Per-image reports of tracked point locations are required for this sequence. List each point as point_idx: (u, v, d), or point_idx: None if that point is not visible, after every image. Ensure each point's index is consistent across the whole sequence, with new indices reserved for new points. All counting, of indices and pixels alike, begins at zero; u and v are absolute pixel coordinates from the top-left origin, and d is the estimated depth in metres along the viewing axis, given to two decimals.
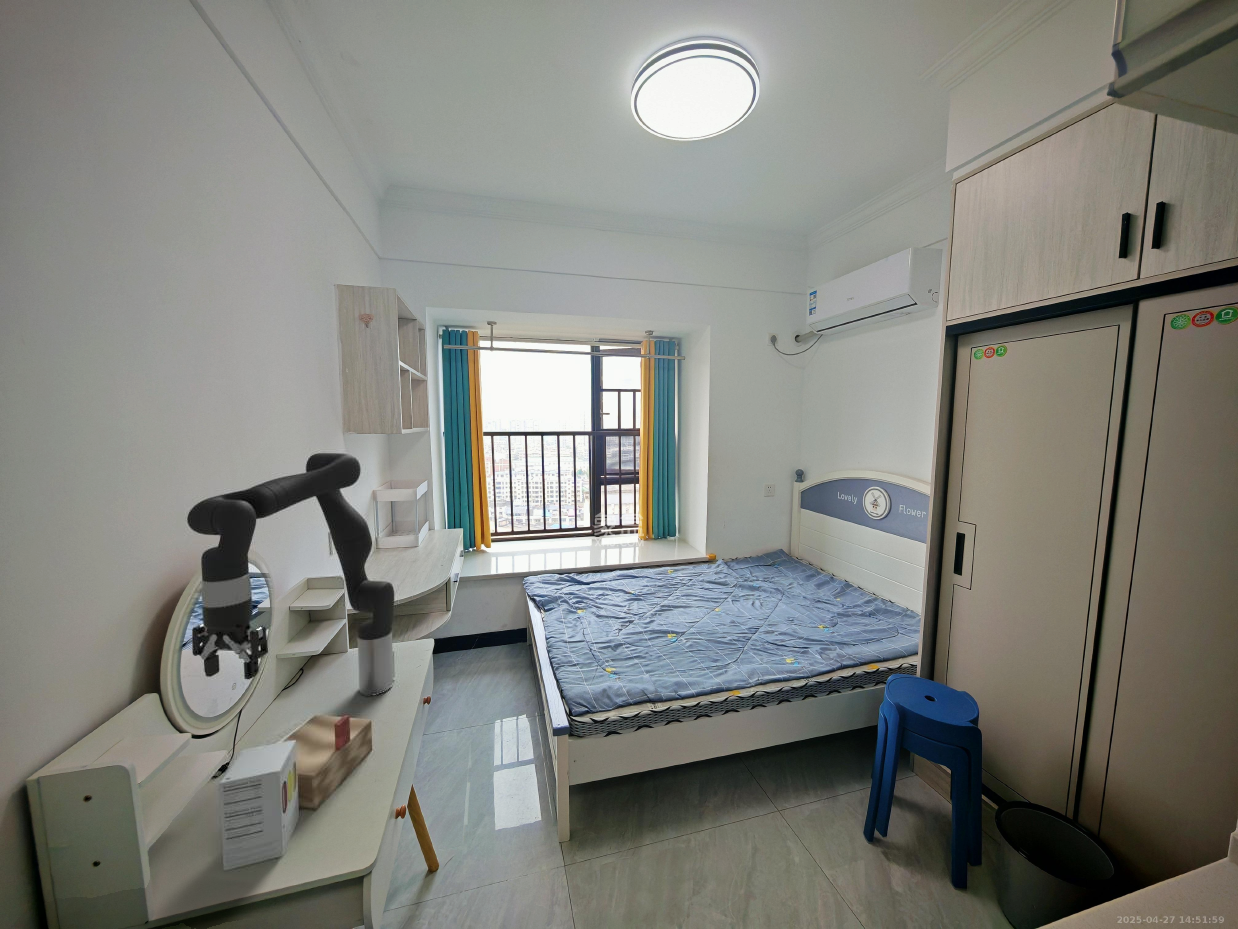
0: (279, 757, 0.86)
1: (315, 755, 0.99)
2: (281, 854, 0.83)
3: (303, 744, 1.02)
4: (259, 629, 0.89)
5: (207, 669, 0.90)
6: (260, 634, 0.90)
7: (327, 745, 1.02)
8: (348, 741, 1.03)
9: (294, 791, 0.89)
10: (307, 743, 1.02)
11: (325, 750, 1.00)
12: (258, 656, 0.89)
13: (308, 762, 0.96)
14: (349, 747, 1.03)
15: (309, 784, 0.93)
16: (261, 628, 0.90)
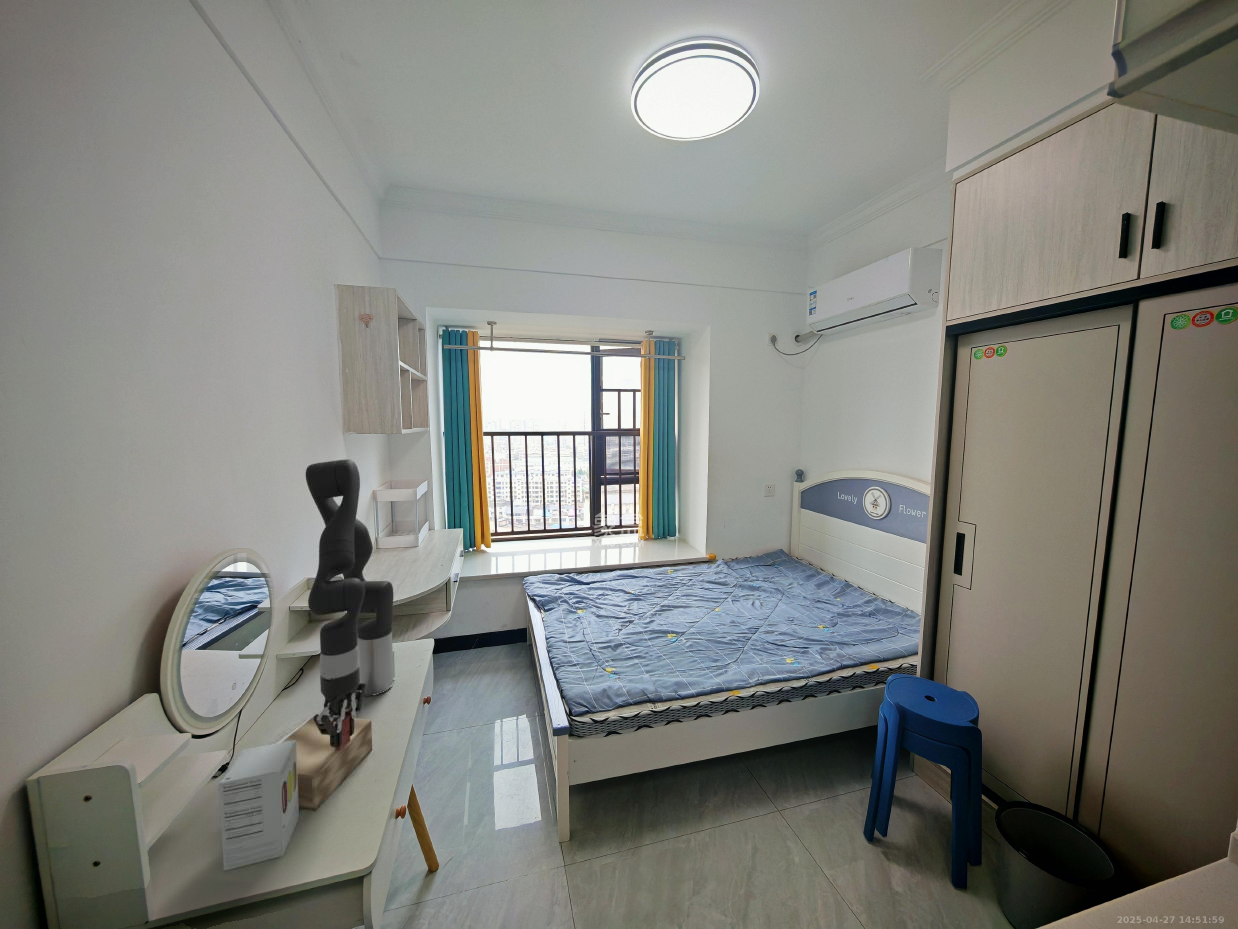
0: (279, 757, 0.86)
1: (315, 755, 0.99)
2: (281, 854, 0.83)
3: (303, 744, 1.02)
4: None
5: (341, 739, 1.00)
6: None
7: (327, 745, 1.02)
8: (348, 741, 1.03)
9: (294, 791, 0.89)
10: (307, 743, 1.02)
11: (325, 750, 1.00)
12: None
13: (308, 762, 0.96)
14: (349, 747, 1.03)
15: (309, 784, 0.93)
16: None
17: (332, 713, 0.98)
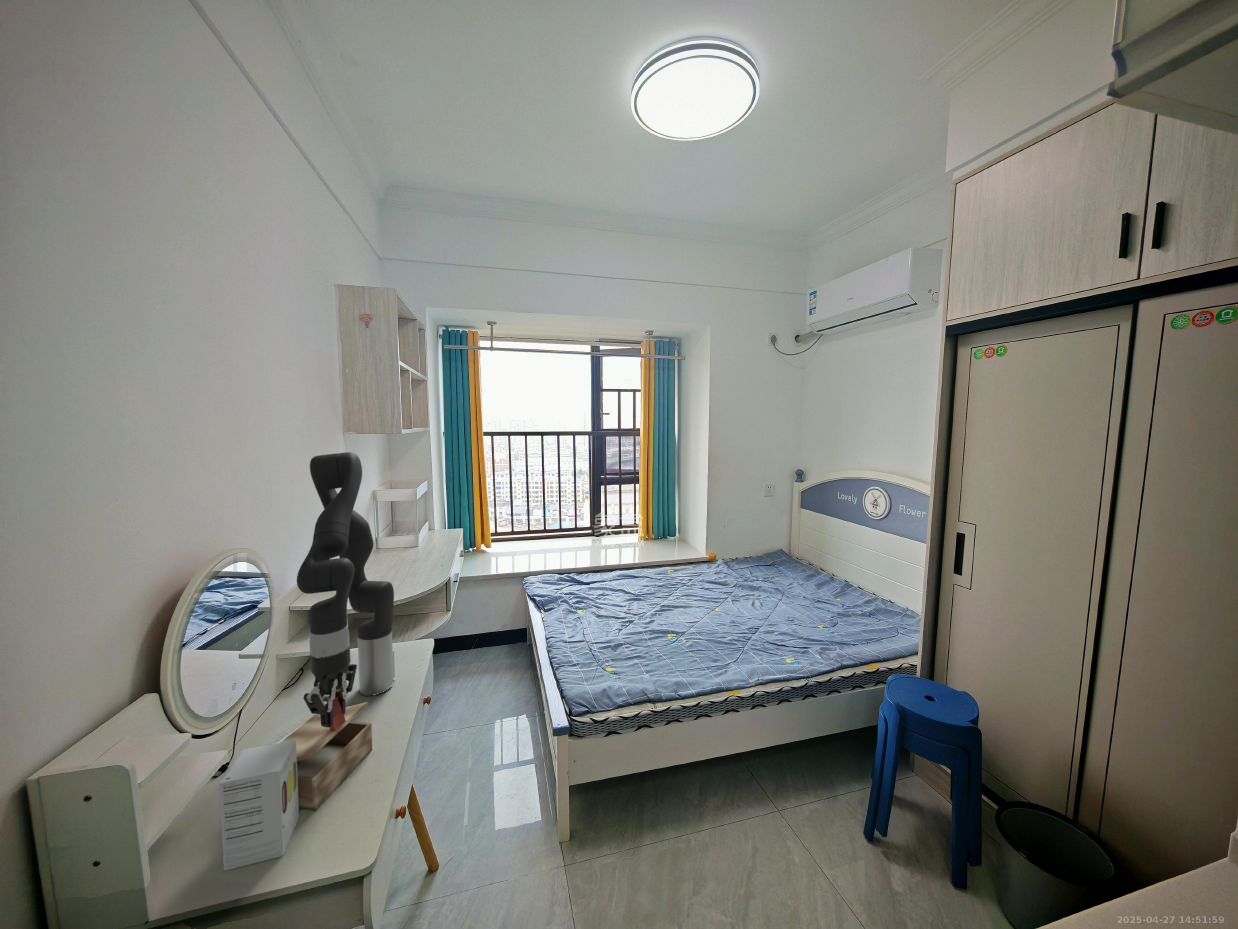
0: (279, 757, 0.86)
1: (311, 740, 0.98)
2: (281, 854, 0.83)
3: (301, 737, 1.02)
4: None
5: (332, 718, 1.00)
6: None
7: (323, 731, 1.01)
8: (344, 722, 1.03)
9: (294, 791, 0.89)
10: (304, 735, 1.02)
11: (321, 735, 1.00)
12: None
13: (304, 747, 0.96)
14: (349, 747, 1.03)
15: (309, 784, 0.93)
16: None
17: (322, 692, 0.98)
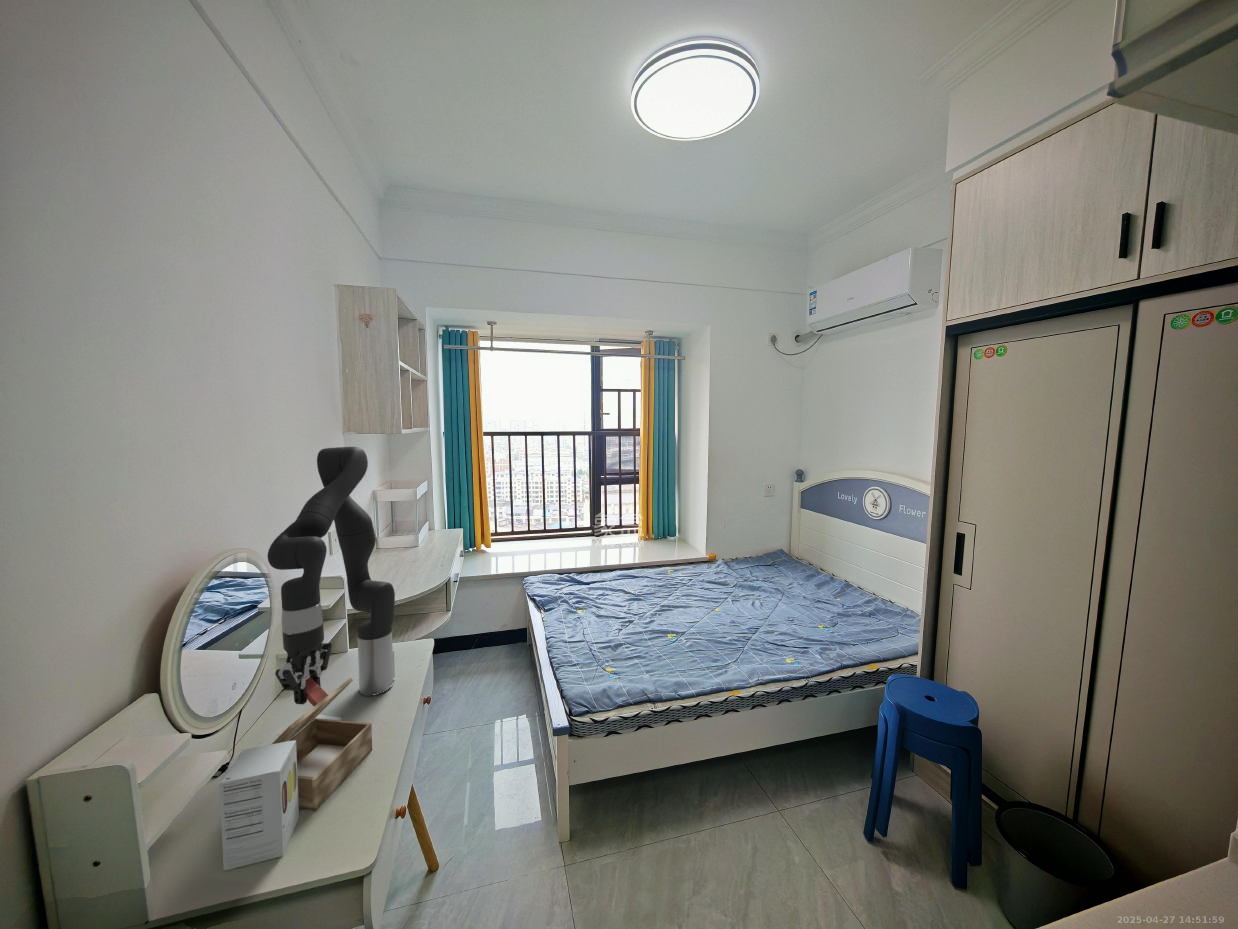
0: (279, 757, 0.86)
1: None
2: (281, 854, 0.83)
3: None
4: None
5: (305, 695, 1.00)
6: None
7: None
8: (327, 696, 1.03)
9: (294, 791, 0.89)
10: None
11: None
12: None
13: None
14: (349, 747, 1.03)
15: (309, 784, 0.93)
16: None
17: (295, 669, 0.98)
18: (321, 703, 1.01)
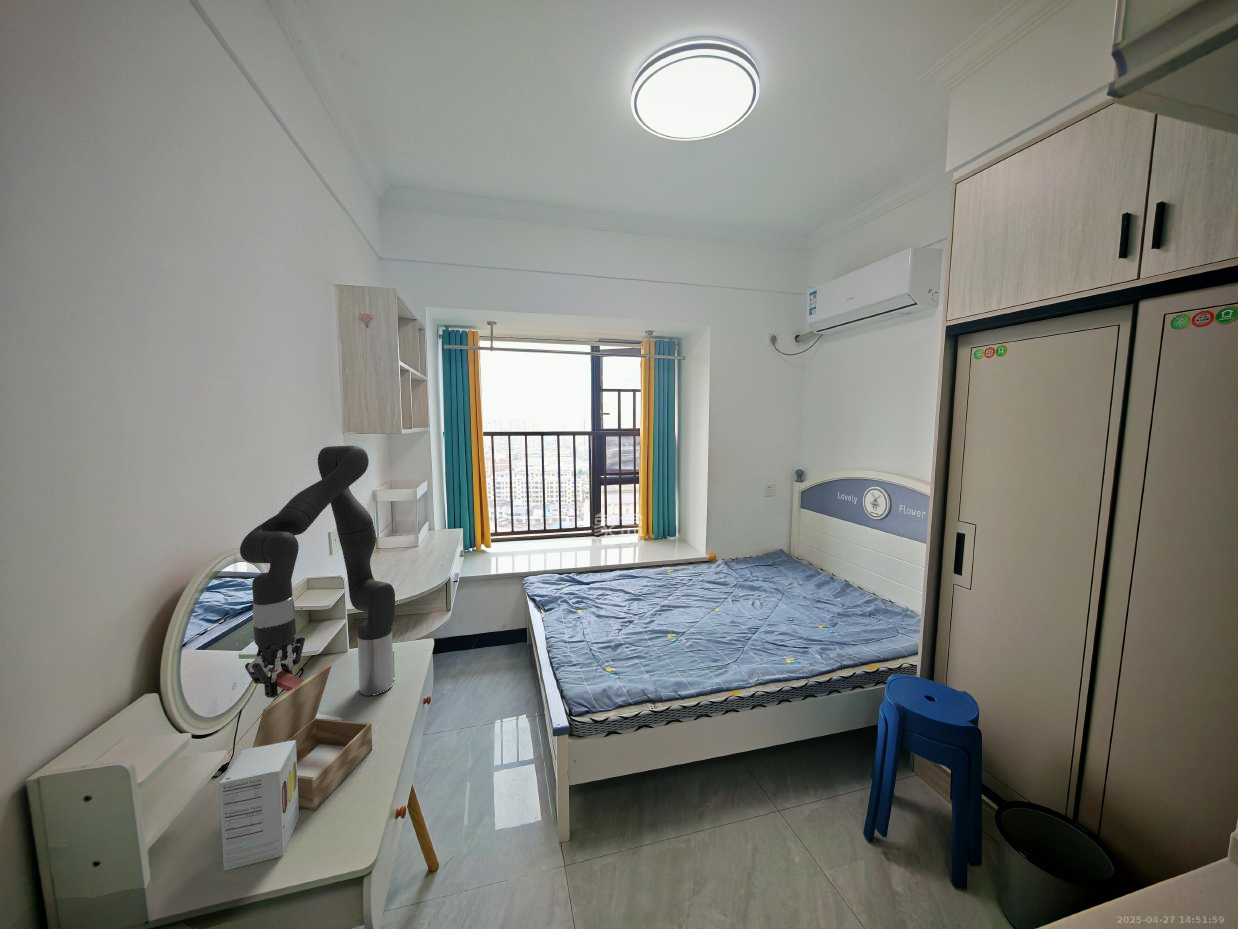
0: (279, 757, 0.86)
1: None
2: (281, 854, 0.83)
3: None
4: None
5: (276, 689, 1.00)
6: None
7: None
8: (303, 681, 1.03)
9: (294, 791, 0.89)
10: None
11: None
12: None
13: None
14: (349, 747, 1.03)
15: (309, 784, 0.93)
16: None
17: (266, 663, 0.99)
18: (297, 687, 1.01)
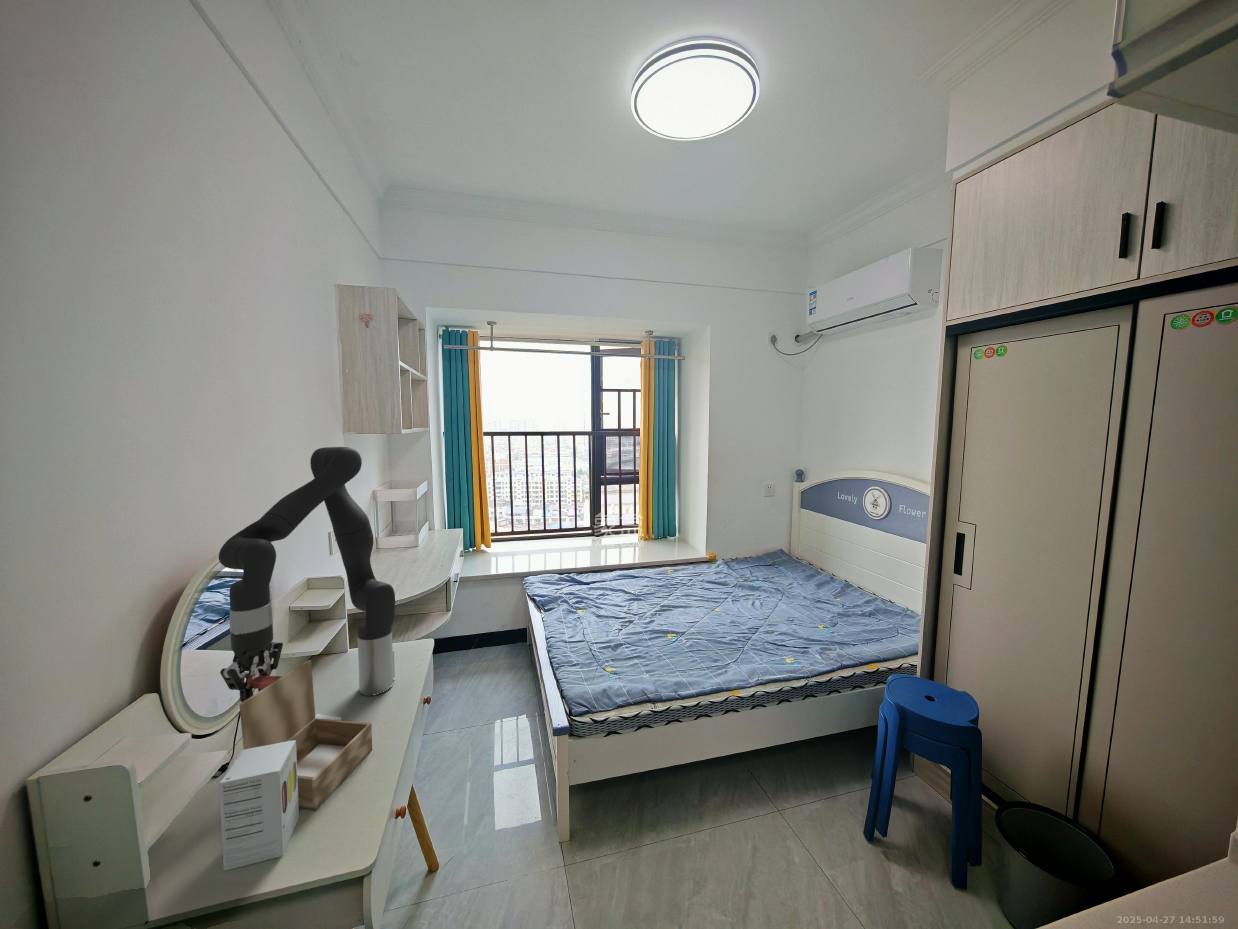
0: (279, 757, 0.86)
1: None
2: (281, 854, 0.83)
3: None
4: None
5: (252, 695, 1.01)
6: None
7: None
8: (281, 677, 1.04)
9: (294, 791, 0.89)
10: None
11: None
12: None
13: None
14: (349, 747, 1.03)
15: (309, 784, 0.93)
16: None
17: (242, 669, 1.00)
18: (275, 682, 1.01)
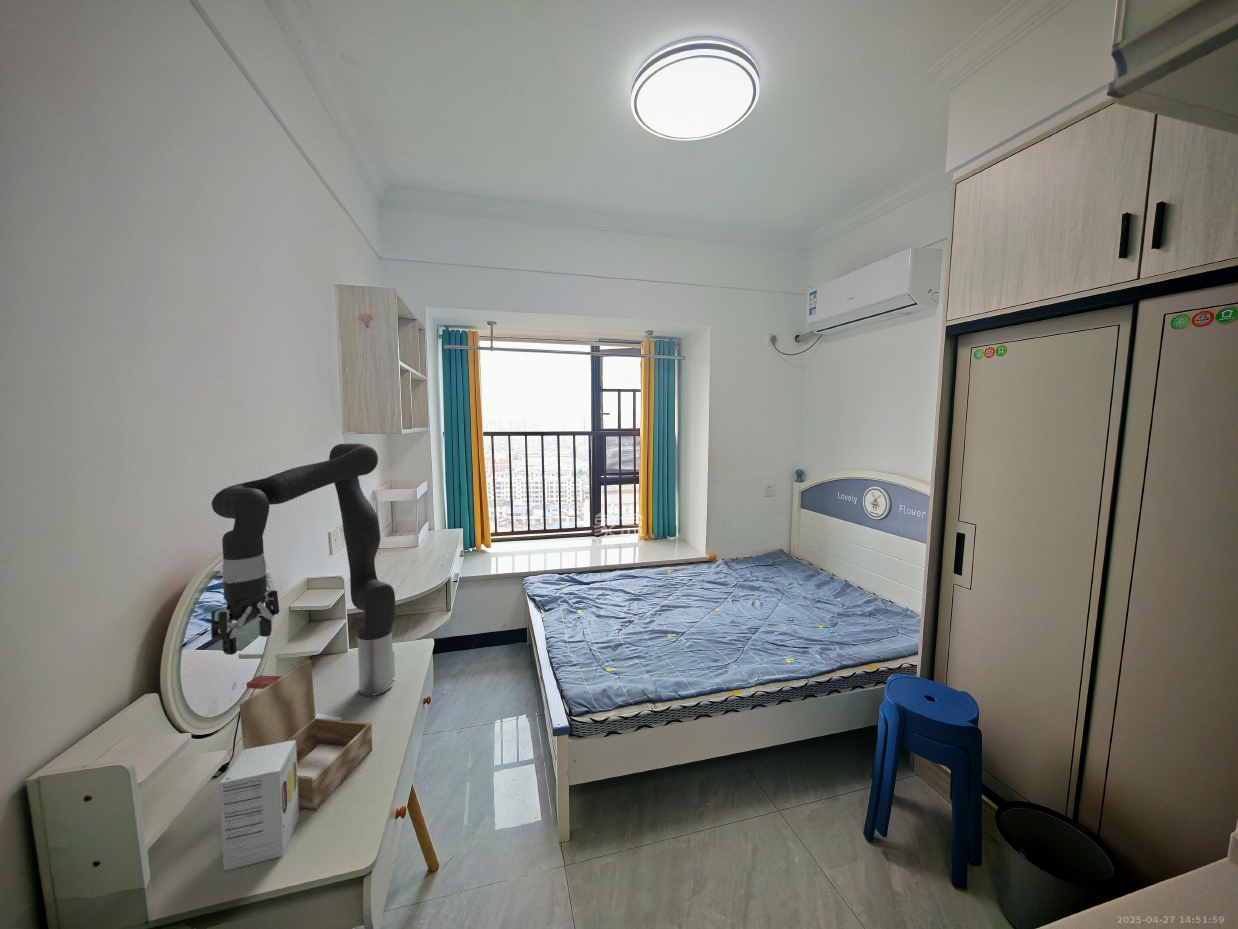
0: (279, 757, 0.86)
1: None
2: (281, 854, 0.83)
3: None
4: None
5: (235, 646, 0.98)
6: None
7: None
8: (281, 677, 1.04)
9: (294, 791, 0.89)
10: None
11: None
12: None
13: None
14: (349, 747, 1.03)
15: (309, 784, 0.93)
16: None
17: (235, 618, 0.99)
18: (275, 682, 1.01)
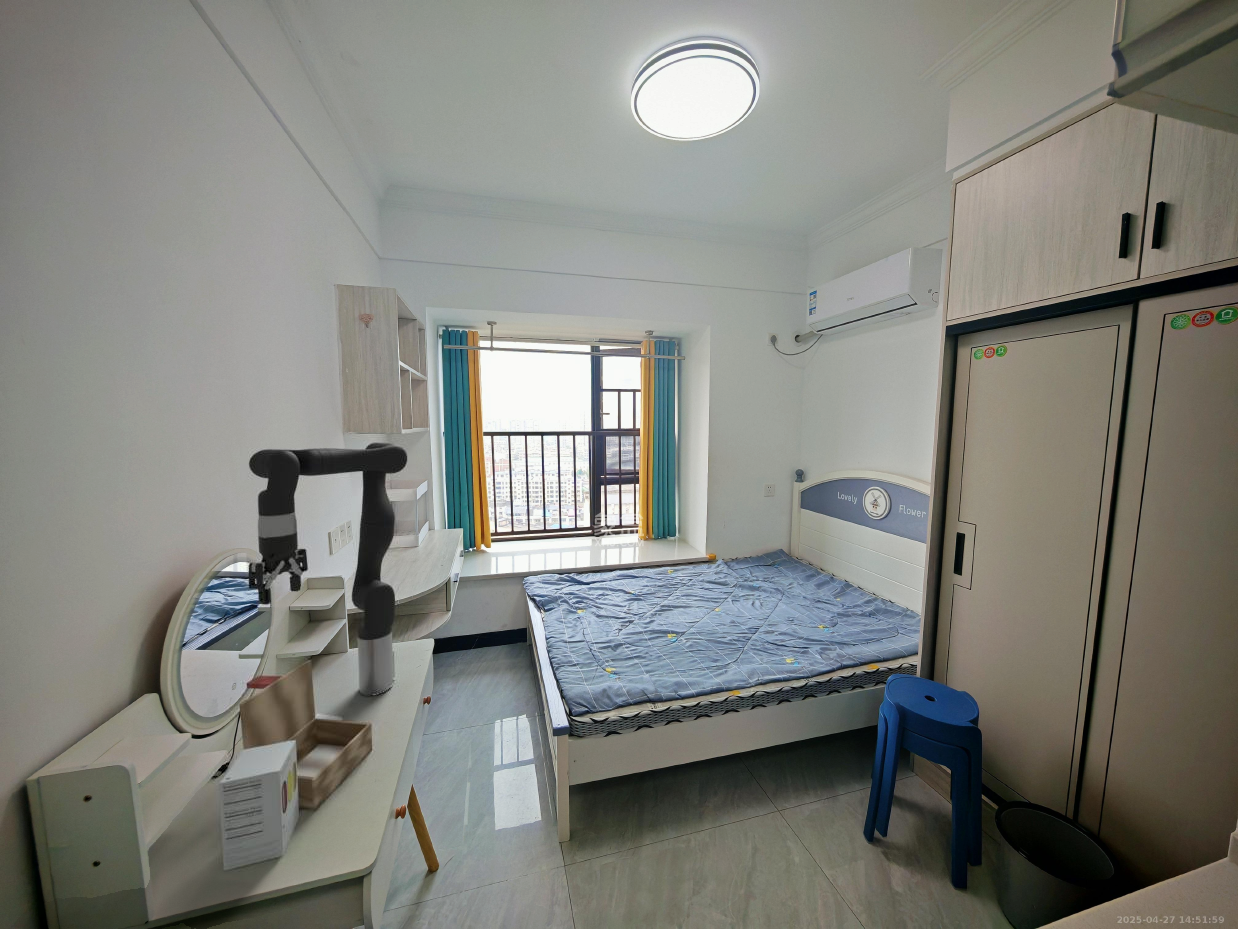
0: (279, 757, 0.86)
1: None
2: (281, 854, 0.83)
3: None
4: None
5: (270, 596, 1.05)
6: None
7: None
8: (281, 677, 1.04)
9: (294, 791, 0.89)
10: None
11: None
12: None
13: None
14: (349, 747, 1.03)
15: (309, 784, 0.93)
16: None
17: (269, 571, 1.06)
18: (275, 682, 1.01)
